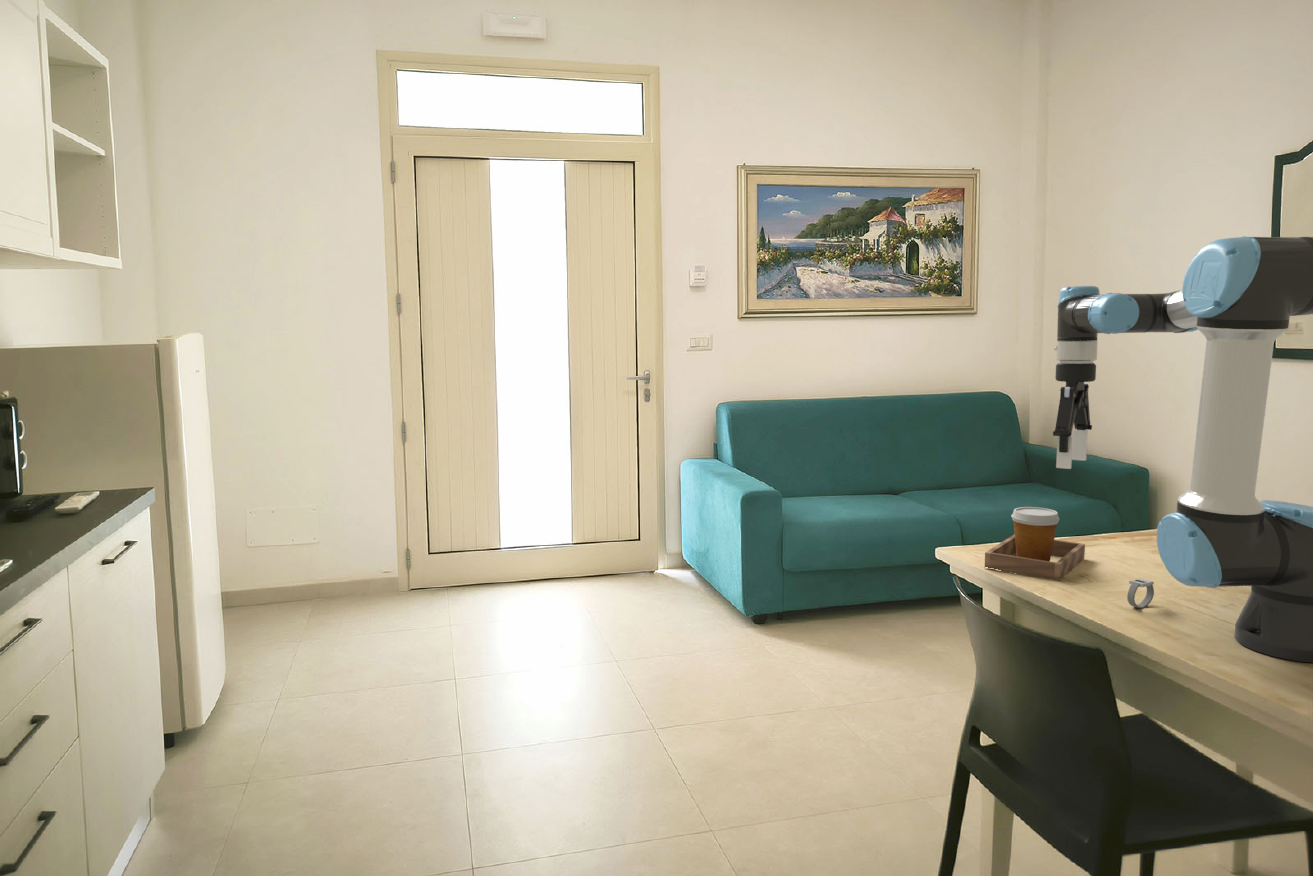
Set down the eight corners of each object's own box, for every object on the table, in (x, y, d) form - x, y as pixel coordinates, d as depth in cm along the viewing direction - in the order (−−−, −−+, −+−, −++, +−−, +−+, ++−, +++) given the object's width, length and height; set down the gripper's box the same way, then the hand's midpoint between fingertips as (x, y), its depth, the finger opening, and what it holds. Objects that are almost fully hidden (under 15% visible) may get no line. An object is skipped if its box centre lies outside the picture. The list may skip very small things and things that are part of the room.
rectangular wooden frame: (1059, 581, 179) (1060, 564, 178) (984, 568, 188) (985, 552, 188) (1084, 559, 194) (1085, 543, 194) (1013, 548, 204) (1014, 534, 203)
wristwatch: (1142, 602, 165) (1144, 576, 165) (1157, 606, 163) (1158, 580, 162) (1122, 607, 162) (1123, 581, 162) (1136, 612, 160) (1138, 585, 159)
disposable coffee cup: (1051, 574, 183) (1054, 518, 182) (1003, 567, 189) (1006, 512, 187) (1062, 564, 191) (1064, 509, 189) (1016, 557, 196) (1018, 504, 195)
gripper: (1070, 360, 194) (1066, 455, 197) (1040, 364, 175) (1036, 470, 177) (1108, 360, 190) (1103, 458, 192) (1082, 364, 170) (1077, 473, 173)
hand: (1071, 464), depth 185 cm, fingers open, 13 cm apart
